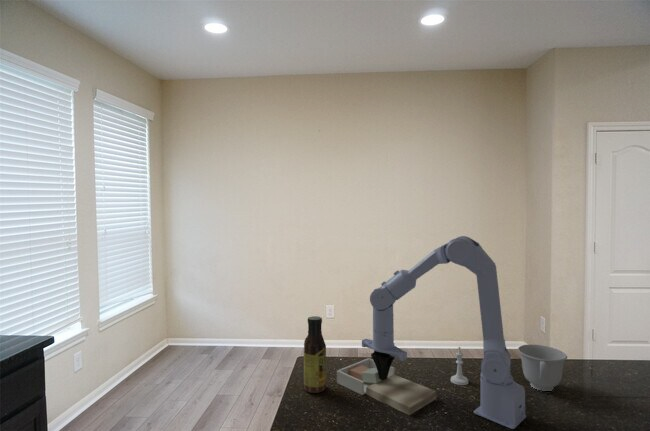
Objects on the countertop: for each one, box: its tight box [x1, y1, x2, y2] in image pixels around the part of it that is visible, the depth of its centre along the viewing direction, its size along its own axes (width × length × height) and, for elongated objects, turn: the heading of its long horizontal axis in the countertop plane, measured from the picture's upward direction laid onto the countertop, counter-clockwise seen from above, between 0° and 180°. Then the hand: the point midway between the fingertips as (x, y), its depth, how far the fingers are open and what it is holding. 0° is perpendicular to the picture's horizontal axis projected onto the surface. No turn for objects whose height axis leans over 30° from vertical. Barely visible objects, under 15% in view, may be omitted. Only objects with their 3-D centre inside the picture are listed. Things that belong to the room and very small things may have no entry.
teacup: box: [517, 344, 568, 392], centre depth 103 cm, size 12×15×10 cm
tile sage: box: [362, 368, 382, 383], centre depth 107 cm, size 5×5×2 cm
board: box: [366, 373, 437, 416], centre depth 100 cm, size 14×12×2 cm
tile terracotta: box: [349, 365, 370, 381], centre depth 110 cm, size 5×5×2 cm
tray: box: [336, 357, 395, 396], centre depth 109 cm, size 10×14×4 cm
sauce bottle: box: [303, 315, 327, 394], centre depth 104 cm, size 7×6×20 cm
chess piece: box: [450, 346, 469, 386], centre depth 109 cm, size 5×5×10 cm
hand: (383, 378), depth 104 cm, fingers closed
